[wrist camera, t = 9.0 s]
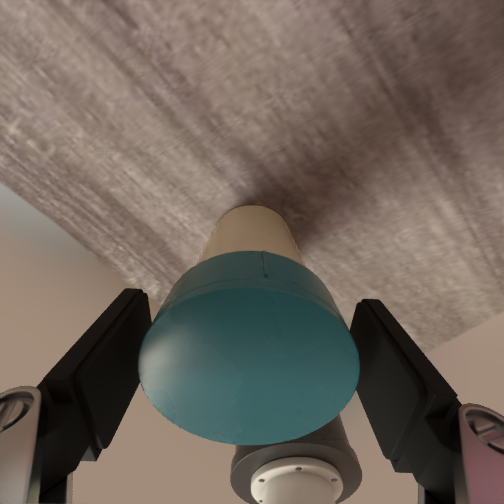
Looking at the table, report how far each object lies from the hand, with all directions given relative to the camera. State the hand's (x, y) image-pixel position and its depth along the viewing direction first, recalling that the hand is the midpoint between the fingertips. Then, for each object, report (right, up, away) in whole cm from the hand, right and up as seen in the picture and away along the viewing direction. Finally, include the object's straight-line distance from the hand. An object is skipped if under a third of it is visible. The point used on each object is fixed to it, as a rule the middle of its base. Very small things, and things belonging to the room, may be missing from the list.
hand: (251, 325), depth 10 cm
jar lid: (0, -1, -2) cm, 2 cm away
